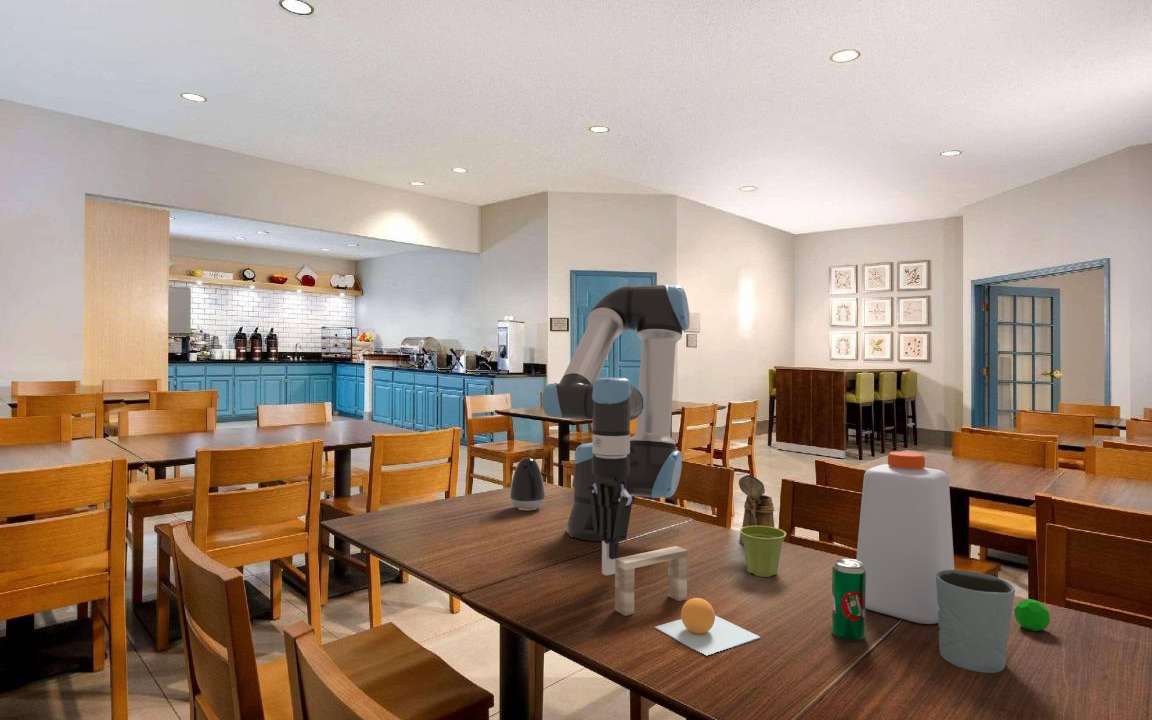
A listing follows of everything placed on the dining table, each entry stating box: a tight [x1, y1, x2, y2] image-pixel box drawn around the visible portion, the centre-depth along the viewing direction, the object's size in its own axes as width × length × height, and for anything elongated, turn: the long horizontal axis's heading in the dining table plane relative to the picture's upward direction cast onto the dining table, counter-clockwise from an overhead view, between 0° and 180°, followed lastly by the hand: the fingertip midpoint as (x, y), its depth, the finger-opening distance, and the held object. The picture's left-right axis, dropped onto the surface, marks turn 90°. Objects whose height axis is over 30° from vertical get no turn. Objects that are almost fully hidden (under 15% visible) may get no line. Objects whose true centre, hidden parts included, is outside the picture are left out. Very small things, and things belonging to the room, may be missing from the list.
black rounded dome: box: [509, 457, 546, 509], centre depth 187 cm, size 10×10×15 cm
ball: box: [680, 597, 716, 634], centre depth 105 cm, size 6×6×6 cm
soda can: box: [830, 558, 866, 642], centre depth 105 cm, size 5×5×12 cm
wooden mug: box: [738, 474, 776, 545], centre depth 154 cm, size 9×14×18 cm, turn 148°
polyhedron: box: [1013, 598, 1051, 632], centre depth 108 cm, size 5×5×5 cm
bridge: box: [614, 545, 688, 617], centre depth 117 cm, size 3×14×9 cm, turn 123°
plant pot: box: [739, 526, 787, 578], centre depth 135 cm, size 9×9×9 cm
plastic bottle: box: [855, 451, 955, 625], centre depth 117 cm, size 15×15×28 cm
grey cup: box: [936, 569, 1016, 674], centre depth 97 cm, size 10×10×12 cm
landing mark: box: [654, 615, 761, 657], centre depth 105 cm, size 12×12×1 cm
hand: (609, 573), depth 128 cm, fingers closed
